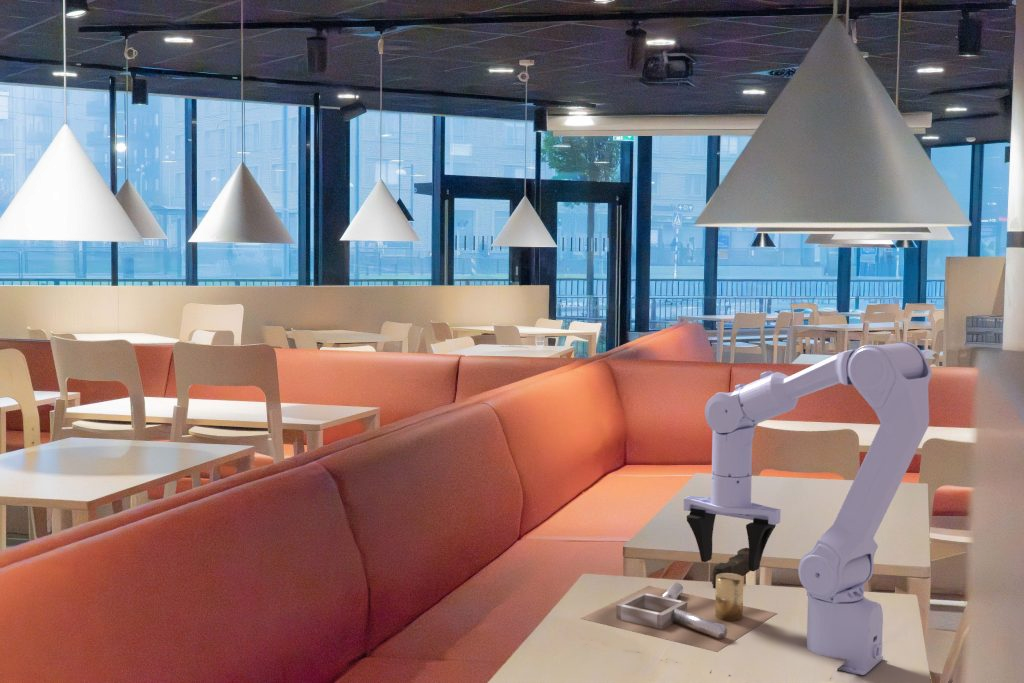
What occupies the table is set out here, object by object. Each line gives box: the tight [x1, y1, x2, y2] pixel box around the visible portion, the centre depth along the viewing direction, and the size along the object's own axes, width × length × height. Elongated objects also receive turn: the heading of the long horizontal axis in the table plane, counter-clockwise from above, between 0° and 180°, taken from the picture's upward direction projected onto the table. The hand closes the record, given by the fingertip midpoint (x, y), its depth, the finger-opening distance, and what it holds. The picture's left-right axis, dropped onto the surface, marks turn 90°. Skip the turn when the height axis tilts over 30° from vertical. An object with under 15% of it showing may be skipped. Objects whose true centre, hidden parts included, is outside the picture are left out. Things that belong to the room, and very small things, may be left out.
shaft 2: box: [671, 609, 727, 640], centre depth 152 cm, size 9×2×2 cm, turn 38°
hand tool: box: [711, 547, 761, 589], centre depth 180 cm, size 19×4×5 cm, turn 148°
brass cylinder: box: [714, 573, 745, 621], centre depth 158 cm, size 4×4×6 cm
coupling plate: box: [580, 585, 778, 653], centre depth 158 cm, size 22×20×4 cm
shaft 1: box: [662, 582, 684, 600], centre depth 164 cm, size 8×2×2 cm, turn 158°
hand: (729, 565), depth 157 cm, fingers open, 7 cm apart
